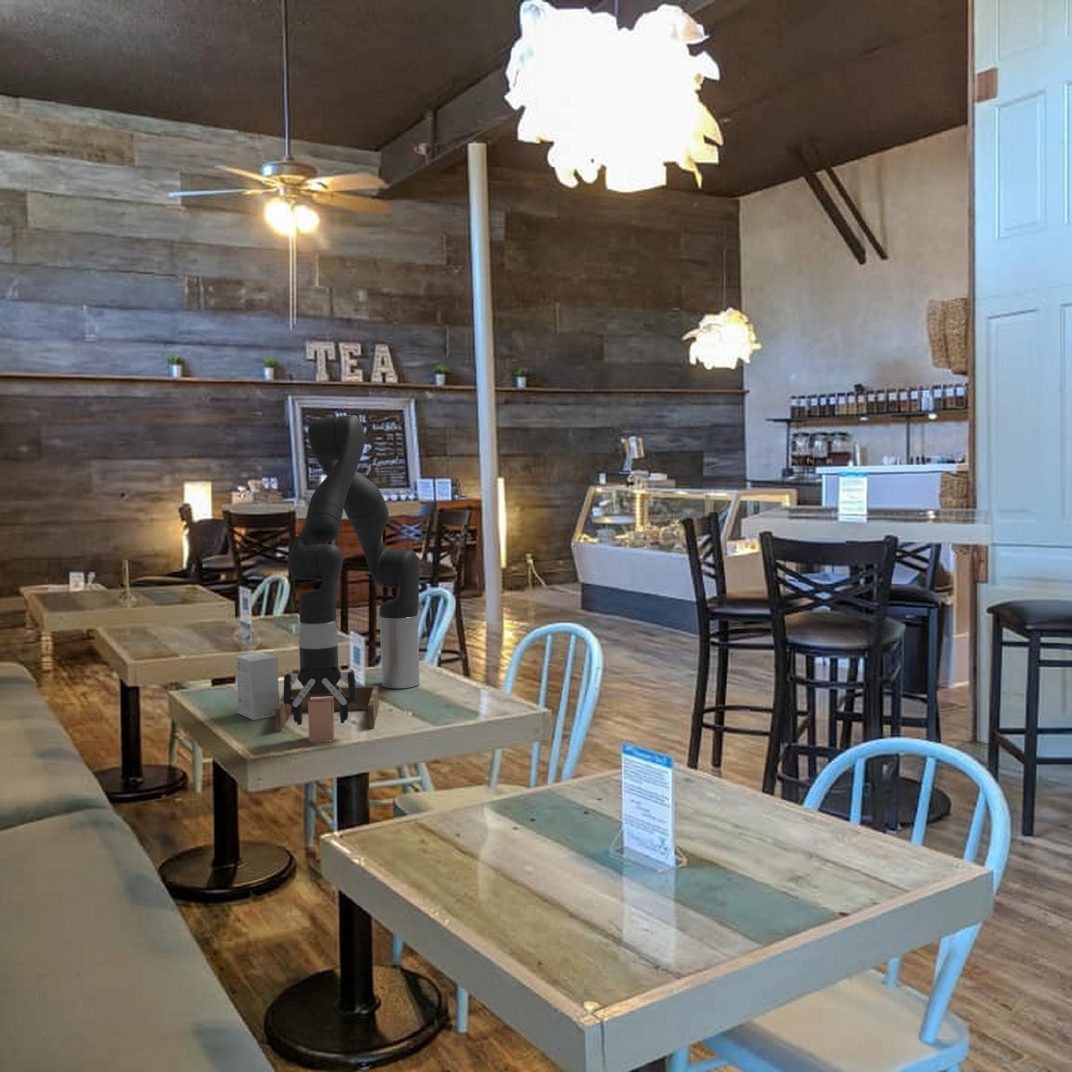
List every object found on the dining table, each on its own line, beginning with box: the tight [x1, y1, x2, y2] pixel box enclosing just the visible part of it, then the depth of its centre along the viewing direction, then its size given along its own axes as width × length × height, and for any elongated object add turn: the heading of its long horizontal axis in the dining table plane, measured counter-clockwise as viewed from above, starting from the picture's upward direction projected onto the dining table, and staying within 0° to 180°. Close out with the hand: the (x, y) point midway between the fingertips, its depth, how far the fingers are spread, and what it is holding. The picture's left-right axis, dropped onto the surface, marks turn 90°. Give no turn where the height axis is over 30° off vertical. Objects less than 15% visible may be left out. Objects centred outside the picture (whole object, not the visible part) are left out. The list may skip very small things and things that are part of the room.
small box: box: [235, 652, 280, 721], centre depth 227 cm, size 8×6×13 cm
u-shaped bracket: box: [274, 685, 380, 733], centre depth 223 cm, size 17×20×5 cm
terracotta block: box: [307, 696, 336, 743], centre depth 208 cm, size 4×4×8 cm
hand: (321, 723), depth 208 cm, fingers open, 8 cm apart
